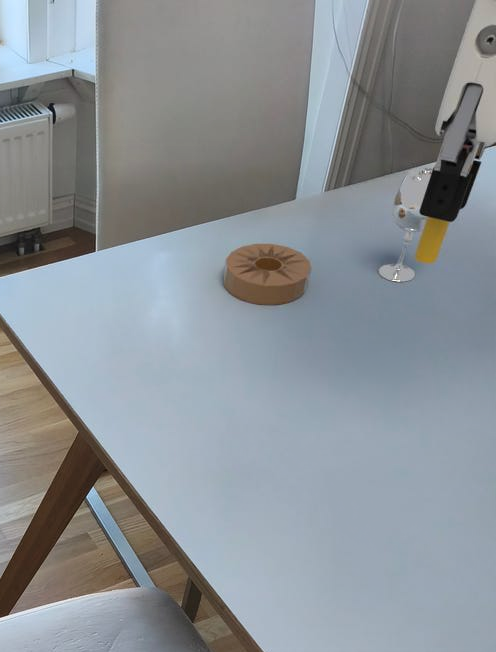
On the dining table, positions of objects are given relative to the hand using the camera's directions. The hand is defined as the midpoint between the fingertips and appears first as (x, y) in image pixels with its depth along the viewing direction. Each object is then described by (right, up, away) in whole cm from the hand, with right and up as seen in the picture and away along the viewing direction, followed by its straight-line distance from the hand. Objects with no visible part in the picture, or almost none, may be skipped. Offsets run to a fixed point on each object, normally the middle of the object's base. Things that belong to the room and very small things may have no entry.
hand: (442, 209), depth 80 cm
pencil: (0, -3, +4) cm, 5 cm away
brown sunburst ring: (-7, +7, +33) cm, 34 cm away
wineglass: (+10, +8, +34) cm, 36 cm away
